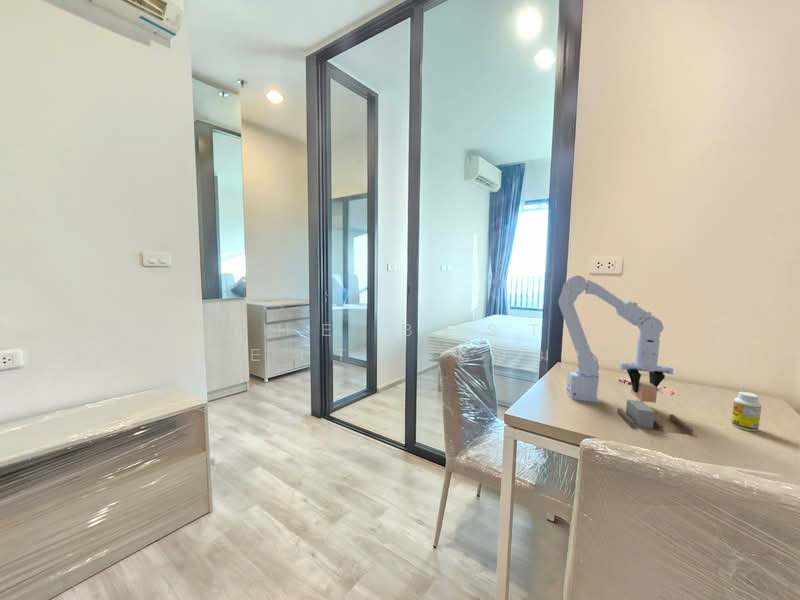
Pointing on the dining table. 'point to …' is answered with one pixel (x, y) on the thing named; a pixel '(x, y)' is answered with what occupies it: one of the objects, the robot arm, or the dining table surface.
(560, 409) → the dining table surface
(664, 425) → the comb rack
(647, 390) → the plug block
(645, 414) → the slate block
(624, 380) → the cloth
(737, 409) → the supplement bottle
